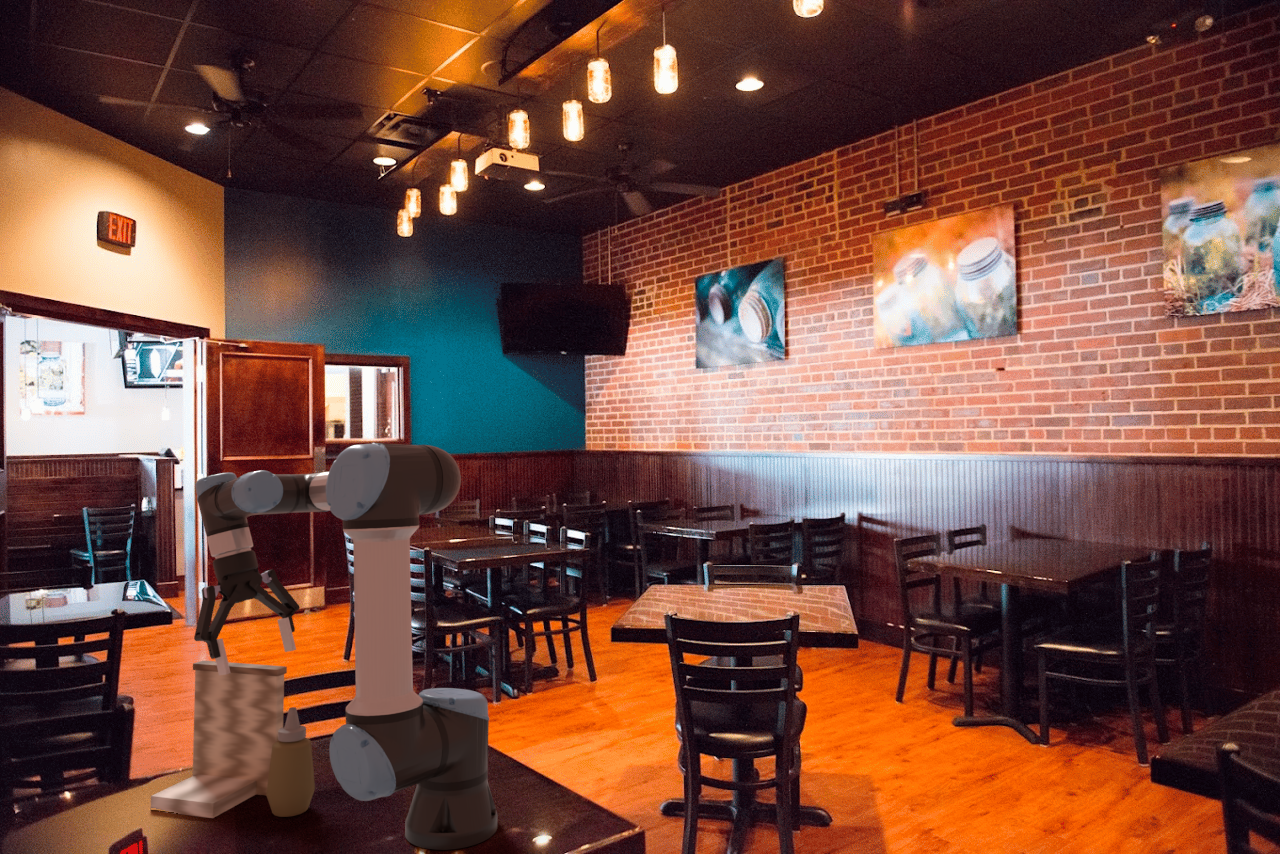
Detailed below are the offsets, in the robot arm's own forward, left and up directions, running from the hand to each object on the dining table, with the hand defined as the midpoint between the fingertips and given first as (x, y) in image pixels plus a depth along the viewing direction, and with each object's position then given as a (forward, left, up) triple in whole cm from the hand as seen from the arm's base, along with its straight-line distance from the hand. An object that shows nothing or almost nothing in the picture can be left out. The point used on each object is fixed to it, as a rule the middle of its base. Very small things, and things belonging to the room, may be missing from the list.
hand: (258, 662), depth 164 cm
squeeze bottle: (-16, 0, -24) cm, 28 cm away
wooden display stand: (-1, +8, -23) cm, 25 cm away
